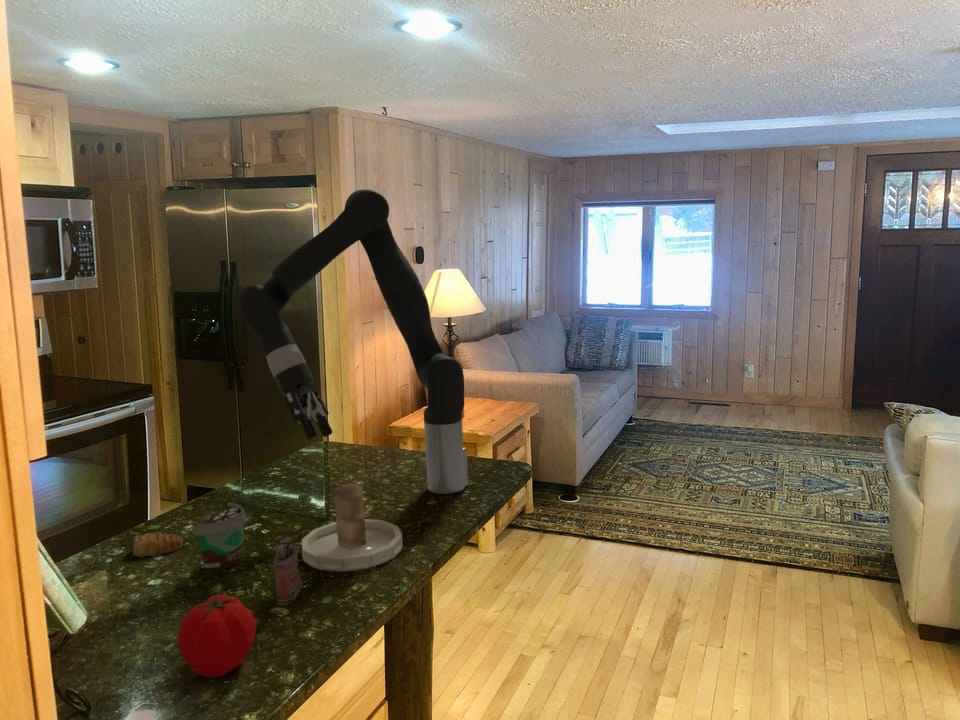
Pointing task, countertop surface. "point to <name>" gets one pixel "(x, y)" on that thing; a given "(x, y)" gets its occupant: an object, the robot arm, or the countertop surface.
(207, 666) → the tomato
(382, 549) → the round dish
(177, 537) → the pastry
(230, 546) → the food container
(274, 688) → the countertop surface
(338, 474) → the countertop surface
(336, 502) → the oak block
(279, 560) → the lighter
